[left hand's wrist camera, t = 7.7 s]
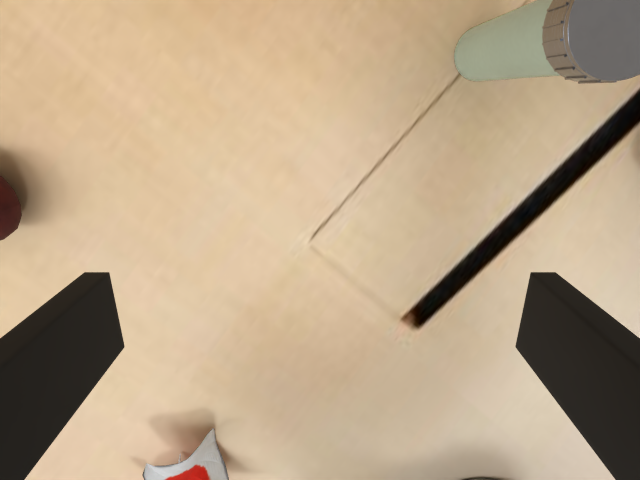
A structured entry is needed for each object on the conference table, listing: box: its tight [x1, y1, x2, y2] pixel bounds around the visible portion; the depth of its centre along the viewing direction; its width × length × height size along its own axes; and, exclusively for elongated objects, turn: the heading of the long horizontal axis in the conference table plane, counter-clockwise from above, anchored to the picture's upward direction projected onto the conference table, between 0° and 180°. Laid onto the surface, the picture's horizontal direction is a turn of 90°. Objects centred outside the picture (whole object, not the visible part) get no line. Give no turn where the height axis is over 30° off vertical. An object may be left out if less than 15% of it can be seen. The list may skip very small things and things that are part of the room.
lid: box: [542, 0, 640, 84], centre depth 19 cm, size 5×5×2 cm
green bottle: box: [454, 0, 560, 81], centre depth 26 cm, size 4×4×17 cm
